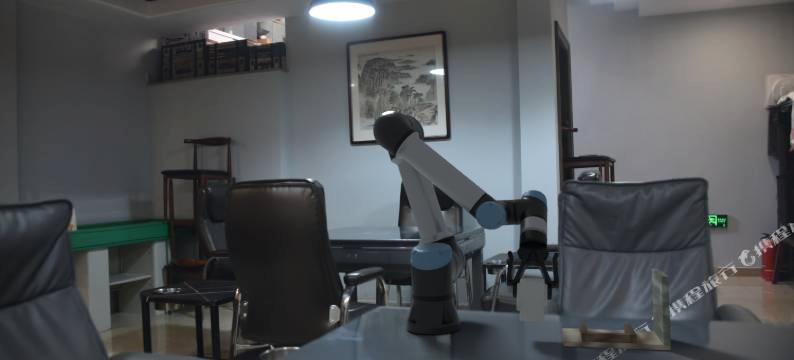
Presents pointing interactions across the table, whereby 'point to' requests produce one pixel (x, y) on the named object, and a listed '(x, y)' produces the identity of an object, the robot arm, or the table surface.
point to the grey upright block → (532, 299)
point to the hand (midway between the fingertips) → (531, 308)
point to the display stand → (628, 336)
